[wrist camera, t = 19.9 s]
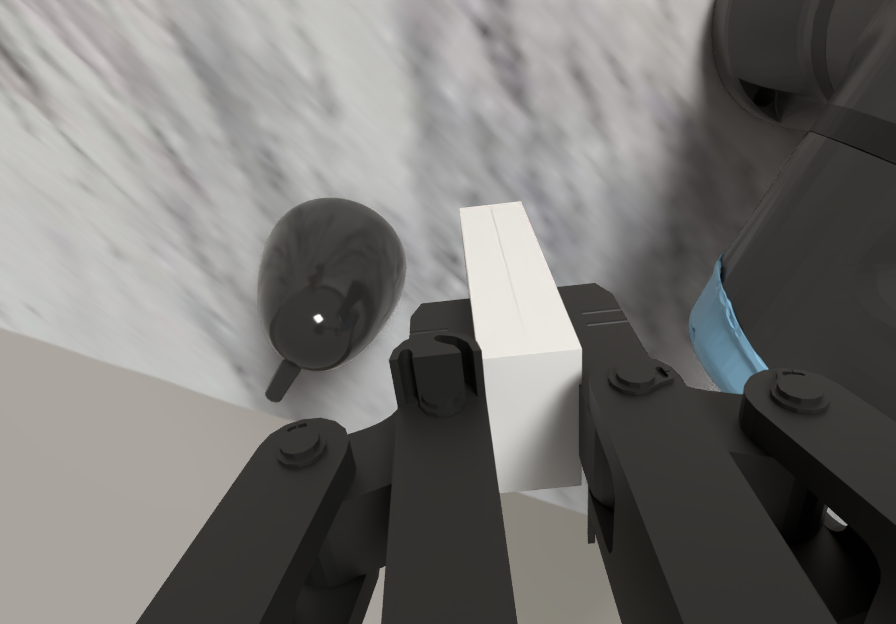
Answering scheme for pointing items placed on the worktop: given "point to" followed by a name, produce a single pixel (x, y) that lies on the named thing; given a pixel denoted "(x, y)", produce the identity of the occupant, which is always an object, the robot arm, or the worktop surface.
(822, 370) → the robot arm
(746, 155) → the worktop surface
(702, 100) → the worktop surface
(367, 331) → the pump dispenser
